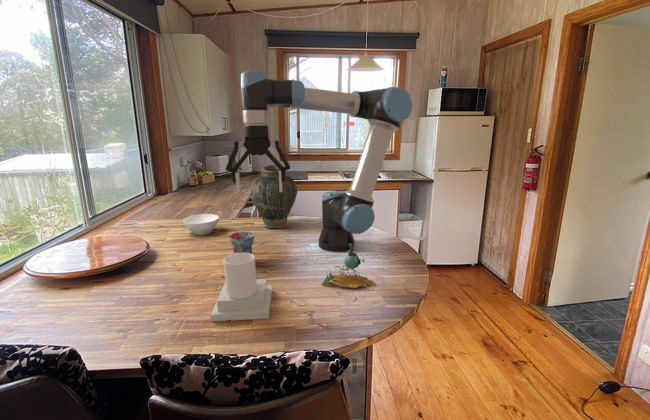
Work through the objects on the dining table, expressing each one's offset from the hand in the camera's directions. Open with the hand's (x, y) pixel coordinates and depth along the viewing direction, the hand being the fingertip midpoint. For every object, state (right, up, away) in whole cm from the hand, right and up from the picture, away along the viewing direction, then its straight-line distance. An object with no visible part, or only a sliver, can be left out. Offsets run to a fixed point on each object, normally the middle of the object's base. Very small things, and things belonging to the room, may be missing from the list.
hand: (259, 192), depth 111 cm
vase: (-3, -14, +59) cm, 60 cm away
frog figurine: (+29, -30, 0) cm, 42 cm away
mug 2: (-2, -29, -14) cm, 32 cm away
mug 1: (-9, -25, +17) cm, 32 cm away
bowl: (-37, -17, +50) cm, 64 cm away
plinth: (-2, -33, -13) cm, 36 cm away
